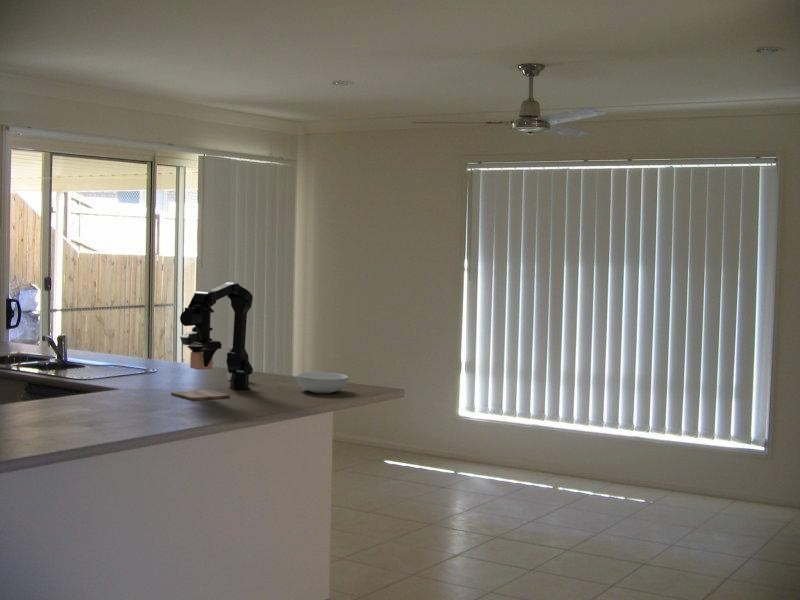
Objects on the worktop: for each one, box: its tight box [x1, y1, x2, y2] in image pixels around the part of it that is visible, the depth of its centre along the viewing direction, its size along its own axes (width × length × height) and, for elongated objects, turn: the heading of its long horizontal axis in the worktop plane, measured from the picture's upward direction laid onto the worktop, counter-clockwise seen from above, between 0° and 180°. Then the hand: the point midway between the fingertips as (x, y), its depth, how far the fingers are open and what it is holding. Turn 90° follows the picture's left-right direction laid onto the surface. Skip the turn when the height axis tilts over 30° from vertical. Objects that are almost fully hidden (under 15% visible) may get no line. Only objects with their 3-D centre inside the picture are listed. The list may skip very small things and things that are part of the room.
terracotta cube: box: [189, 351, 214, 371], centre depth 356 cm, size 6×6×6 cm
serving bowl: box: [296, 371, 349, 394], centre depth 381 cm, size 21×21×7 cm
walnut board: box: [170, 389, 231, 402], centre depth 357 cm, size 16×16×1 cm
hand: (201, 365), depth 357 cm, fingers closed on terracotta cube, 6 cm apart
